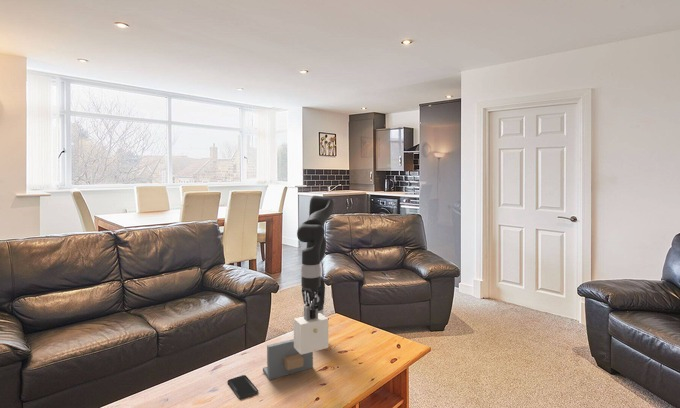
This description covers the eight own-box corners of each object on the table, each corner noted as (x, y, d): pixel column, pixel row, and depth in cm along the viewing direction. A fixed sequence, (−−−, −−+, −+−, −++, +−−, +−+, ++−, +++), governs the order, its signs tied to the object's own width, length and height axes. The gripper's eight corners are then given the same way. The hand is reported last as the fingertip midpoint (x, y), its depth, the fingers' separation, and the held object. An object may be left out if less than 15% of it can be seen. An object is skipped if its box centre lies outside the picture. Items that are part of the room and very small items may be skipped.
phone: (245, 374, 156) (259, 391, 144) (245, 377, 156) (259, 394, 144) (226, 380, 152) (239, 398, 139) (226, 382, 152) (239, 401, 140)
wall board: (262, 371, 160) (262, 339, 159) (305, 359, 170) (305, 330, 169) (272, 385, 150) (272, 351, 148) (317, 372, 159) (317, 340, 158)
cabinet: (293, 347, 150) (293, 306, 148) (320, 340, 156) (320, 301, 154) (301, 355, 143) (301, 312, 142) (329, 348, 149) (329, 307, 147)
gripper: (327, 277, 143) (327, 321, 145) (311, 269, 155) (311, 309, 157) (309, 280, 139) (309, 325, 141) (295, 271, 152) (295, 313, 153)
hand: (311, 316), depth 149 cm, fingers closed on cabinet, 2 cm apart
